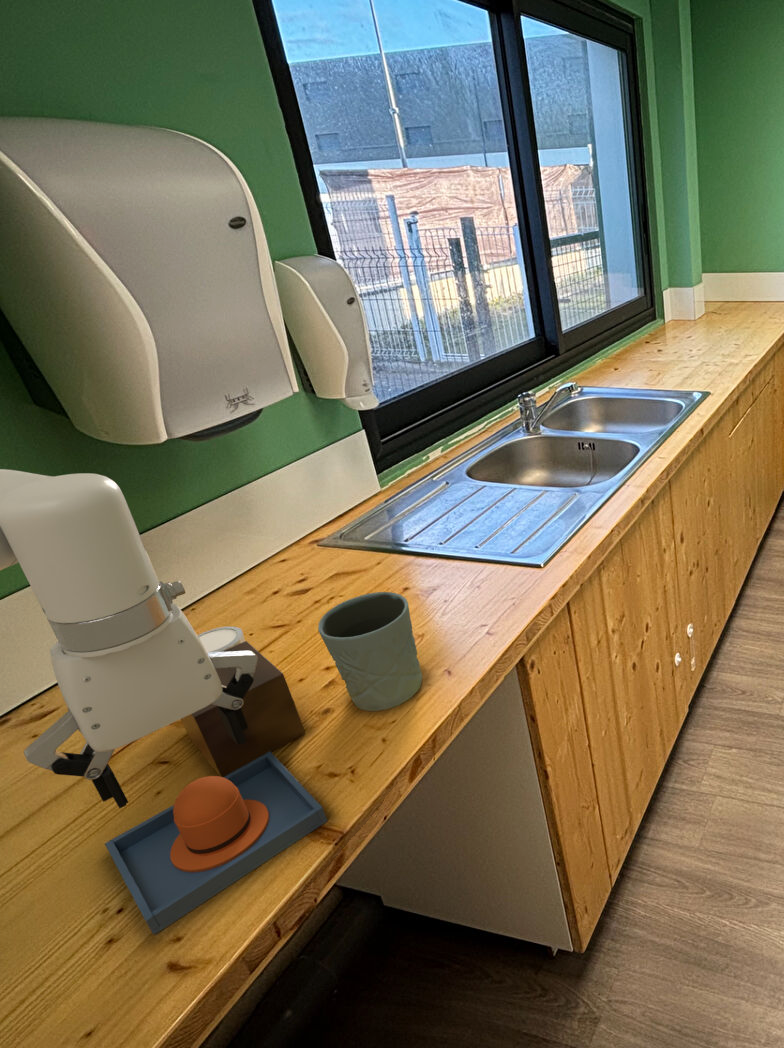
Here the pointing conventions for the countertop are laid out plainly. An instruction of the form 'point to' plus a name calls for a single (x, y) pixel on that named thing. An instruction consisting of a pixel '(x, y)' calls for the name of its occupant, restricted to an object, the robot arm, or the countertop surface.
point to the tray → (179, 892)
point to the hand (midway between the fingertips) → (181, 767)
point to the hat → (214, 824)
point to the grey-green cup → (373, 649)
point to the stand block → (247, 719)
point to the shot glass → (221, 638)
